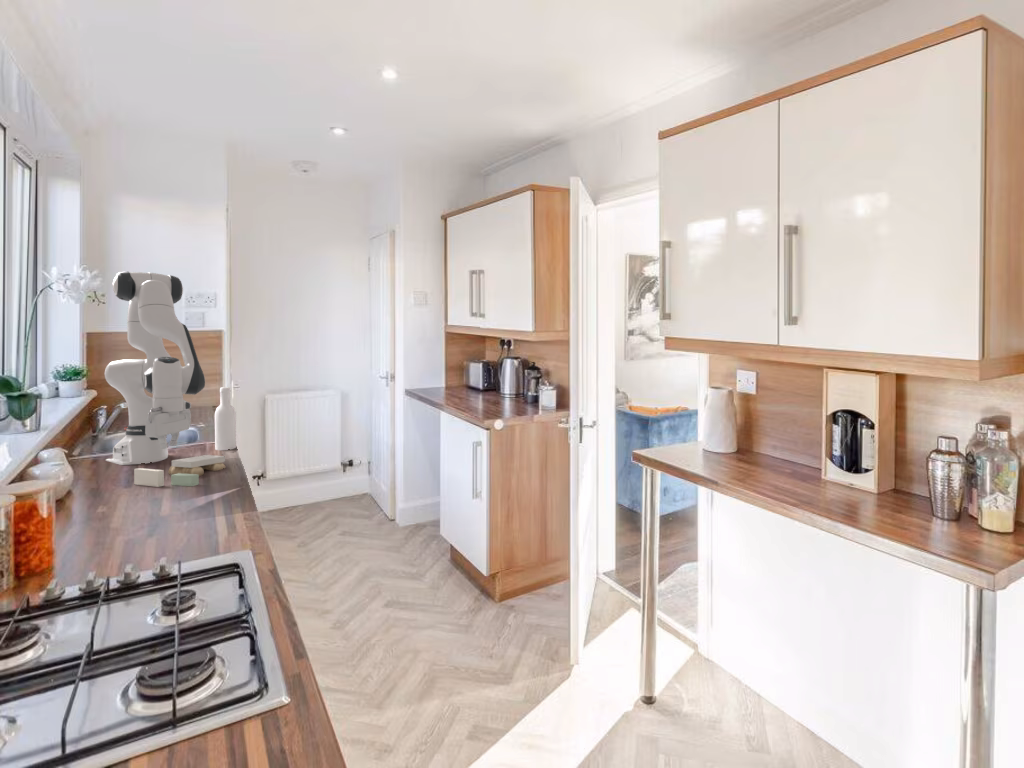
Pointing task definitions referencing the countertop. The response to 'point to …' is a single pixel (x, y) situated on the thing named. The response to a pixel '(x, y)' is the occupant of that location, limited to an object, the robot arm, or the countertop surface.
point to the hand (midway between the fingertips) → (169, 446)
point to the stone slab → (198, 461)
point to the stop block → (149, 477)
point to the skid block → (185, 479)
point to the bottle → (225, 422)
